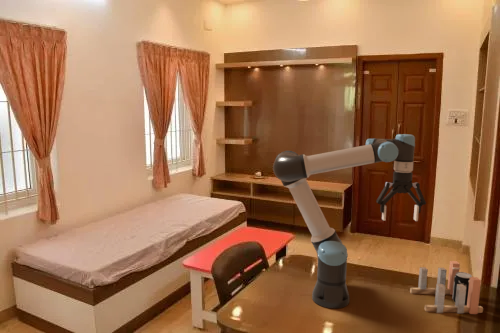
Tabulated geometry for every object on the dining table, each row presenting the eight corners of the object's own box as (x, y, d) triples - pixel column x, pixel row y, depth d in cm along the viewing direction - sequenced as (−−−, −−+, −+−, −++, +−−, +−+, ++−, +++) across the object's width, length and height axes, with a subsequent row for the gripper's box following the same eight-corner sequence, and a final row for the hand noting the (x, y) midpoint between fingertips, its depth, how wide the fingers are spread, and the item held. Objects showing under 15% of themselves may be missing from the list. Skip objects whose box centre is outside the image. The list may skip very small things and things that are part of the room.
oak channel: (425, 311, 153) (426, 306, 153) (409, 291, 170) (410, 287, 169) (482, 312, 153) (483, 308, 153) (460, 292, 169) (461, 288, 169)
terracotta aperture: (470, 314, 152) (473, 280, 150) (447, 291, 170) (449, 261, 168) (477, 314, 152) (480, 280, 150) (453, 291, 170) (456, 261, 168)
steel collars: (436, 313, 152) (439, 286, 151) (417, 291, 171) (419, 267, 169) (463, 313, 152) (466, 287, 150) (441, 291, 170) (444, 267, 169)
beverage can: (473, 306, 158) (476, 278, 156) (457, 306, 158) (459, 278, 156) (464, 298, 164) (467, 271, 163) (449, 298, 165) (451, 271, 163)
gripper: (375, 172, 160) (372, 222, 163) (437, 173, 160) (432, 223, 163) (370, 169, 167) (367, 217, 171) (429, 170, 167) (425, 218, 170)
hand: (399, 220), depth 167 cm, fingers open, 13 cm apart
